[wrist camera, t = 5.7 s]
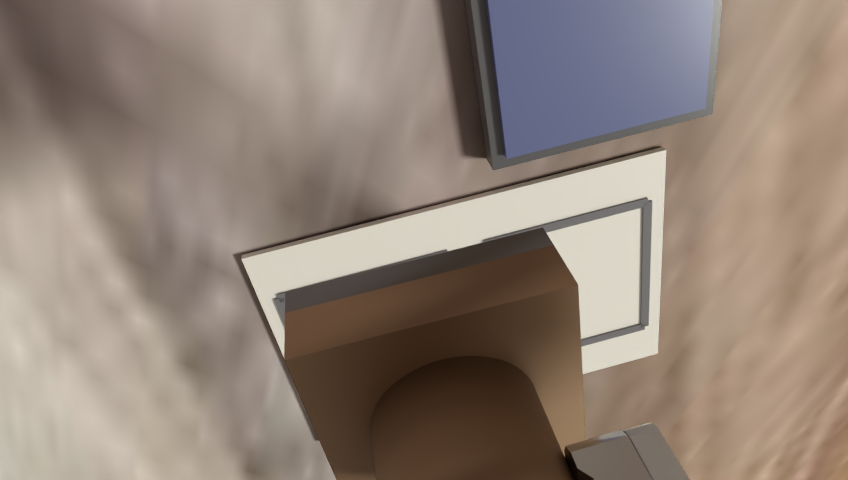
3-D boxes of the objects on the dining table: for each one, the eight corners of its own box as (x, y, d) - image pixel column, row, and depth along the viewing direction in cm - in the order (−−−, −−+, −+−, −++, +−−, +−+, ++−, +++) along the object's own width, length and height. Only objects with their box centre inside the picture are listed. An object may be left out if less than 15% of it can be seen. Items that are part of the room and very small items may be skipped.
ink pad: (712, -83, 22) (734, -79, 21) (698, 105, 26) (716, 117, 25) (460, -24, 21) (470, -16, 20) (486, 159, 25) (495, 173, 24)
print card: (662, 146, 27) (667, 150, 26) (654, 349, 33) (658, 354, 33) (241, 254, 26) (241, 260, 25) (321, 441, 32) (322, 447, 32)
